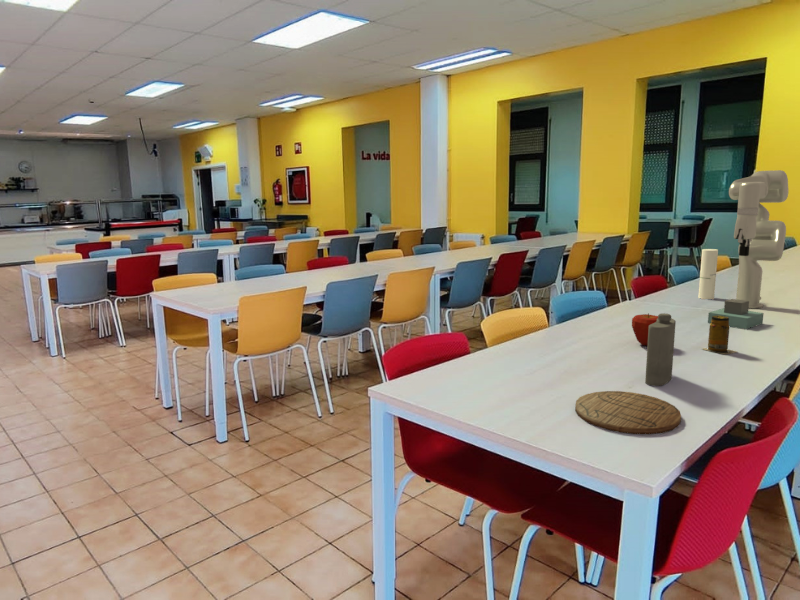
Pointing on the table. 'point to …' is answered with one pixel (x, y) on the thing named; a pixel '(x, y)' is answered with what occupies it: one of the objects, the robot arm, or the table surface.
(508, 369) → the table surface
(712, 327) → the condiment
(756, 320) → the socket
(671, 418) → the trivet
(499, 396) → the table surface
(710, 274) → the cylindrical container
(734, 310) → the plug
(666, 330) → the flask
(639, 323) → the apple
